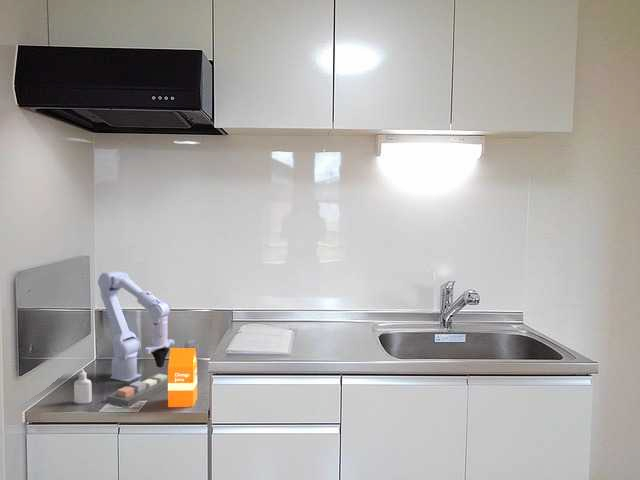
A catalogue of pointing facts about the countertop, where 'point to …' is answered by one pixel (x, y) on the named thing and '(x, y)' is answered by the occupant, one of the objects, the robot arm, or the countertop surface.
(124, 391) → the terracotta key
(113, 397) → the grey slotted tray
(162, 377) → the sage key
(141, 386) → the slate key
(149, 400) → the countertop surface
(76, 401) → the eye dropper bottle
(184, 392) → the orange juice
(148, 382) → the cream key
